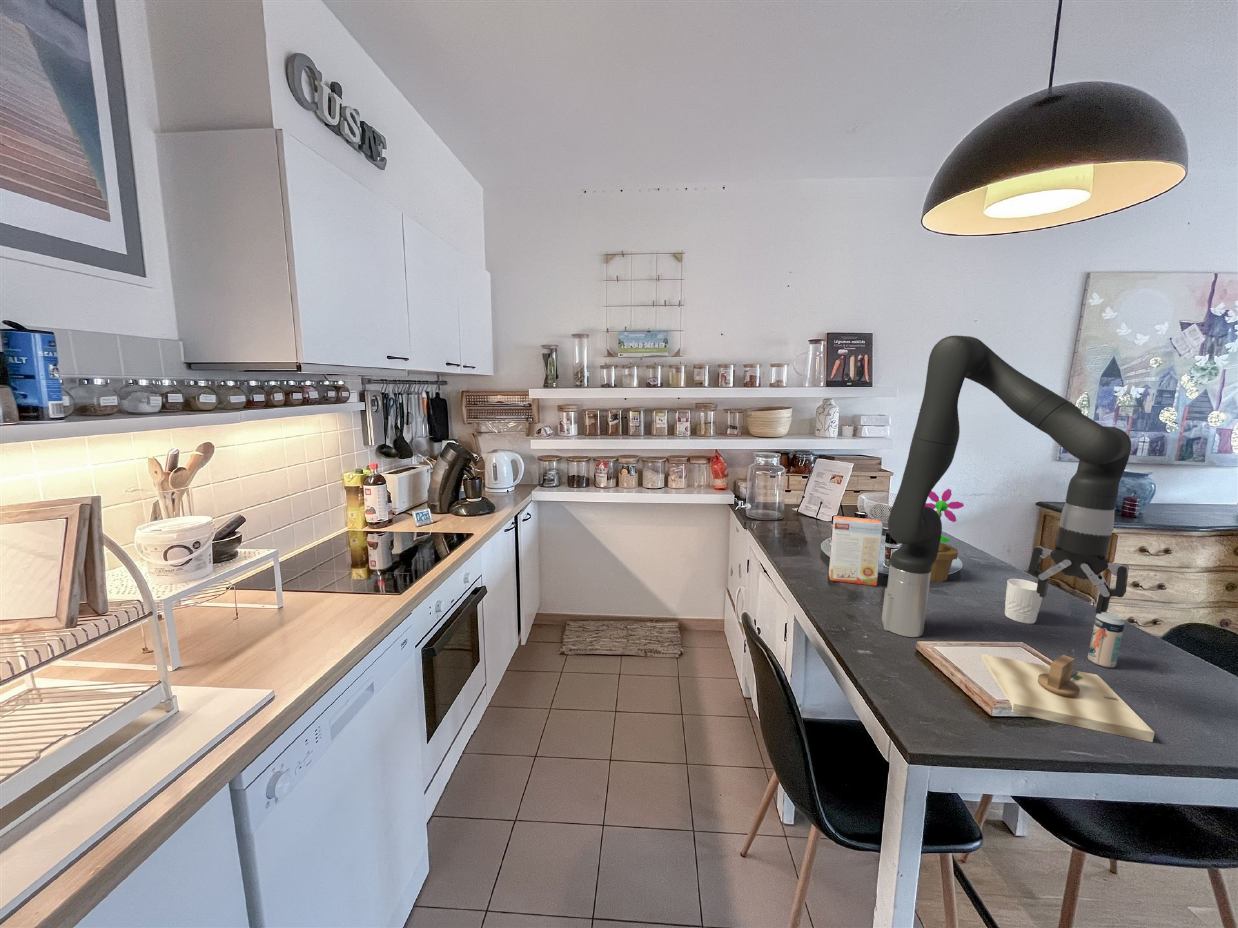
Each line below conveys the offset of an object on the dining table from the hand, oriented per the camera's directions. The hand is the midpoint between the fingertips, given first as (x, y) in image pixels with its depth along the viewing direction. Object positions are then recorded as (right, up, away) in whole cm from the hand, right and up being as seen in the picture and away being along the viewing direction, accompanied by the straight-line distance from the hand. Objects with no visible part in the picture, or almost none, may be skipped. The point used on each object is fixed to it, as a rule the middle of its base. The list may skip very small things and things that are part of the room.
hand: (1069, 604), depth 98 cm
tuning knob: (+2, -18, +4) cm, 18 cm away
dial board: (0, -20, +3) cm, 20 cm away
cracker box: (-15, -10, +61) cm, 64 cm away
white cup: (+21, -15, +37) cm, 45 cm away
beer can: (+22, -19, +15) cm, 32 cm away
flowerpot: (+14, -10, +66) cm, 68 cm away
